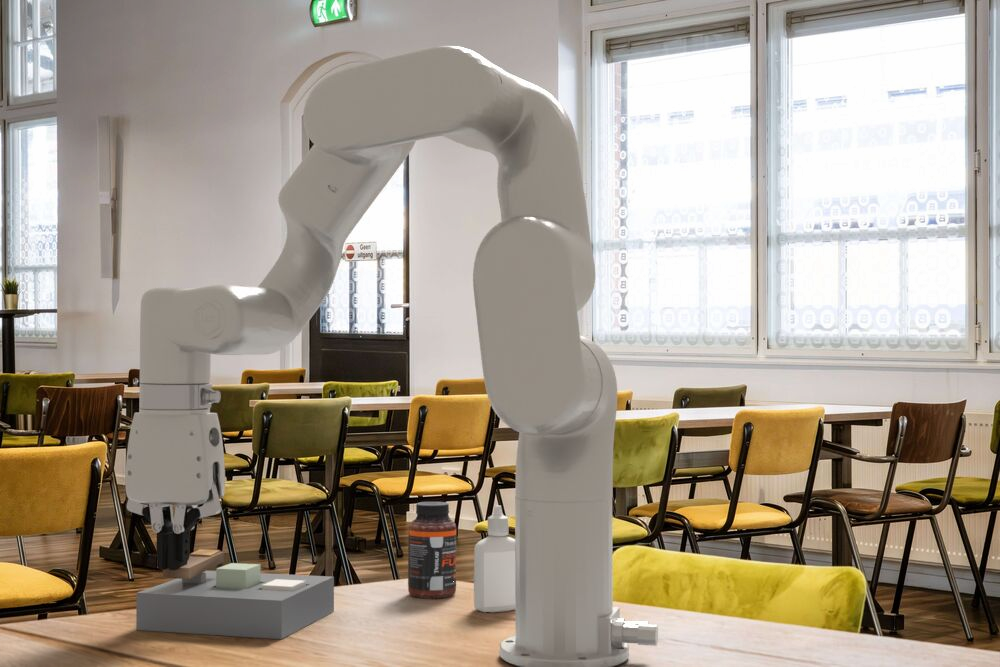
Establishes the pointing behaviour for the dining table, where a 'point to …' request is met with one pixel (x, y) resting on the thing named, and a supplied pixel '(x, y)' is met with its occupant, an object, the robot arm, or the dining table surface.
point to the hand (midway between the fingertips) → (172, 567)
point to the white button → (284, 585)
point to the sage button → (238, 576)
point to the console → (233, 607)
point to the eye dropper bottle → (495, 567)
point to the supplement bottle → (432, 552)
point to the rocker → (196, 564)
